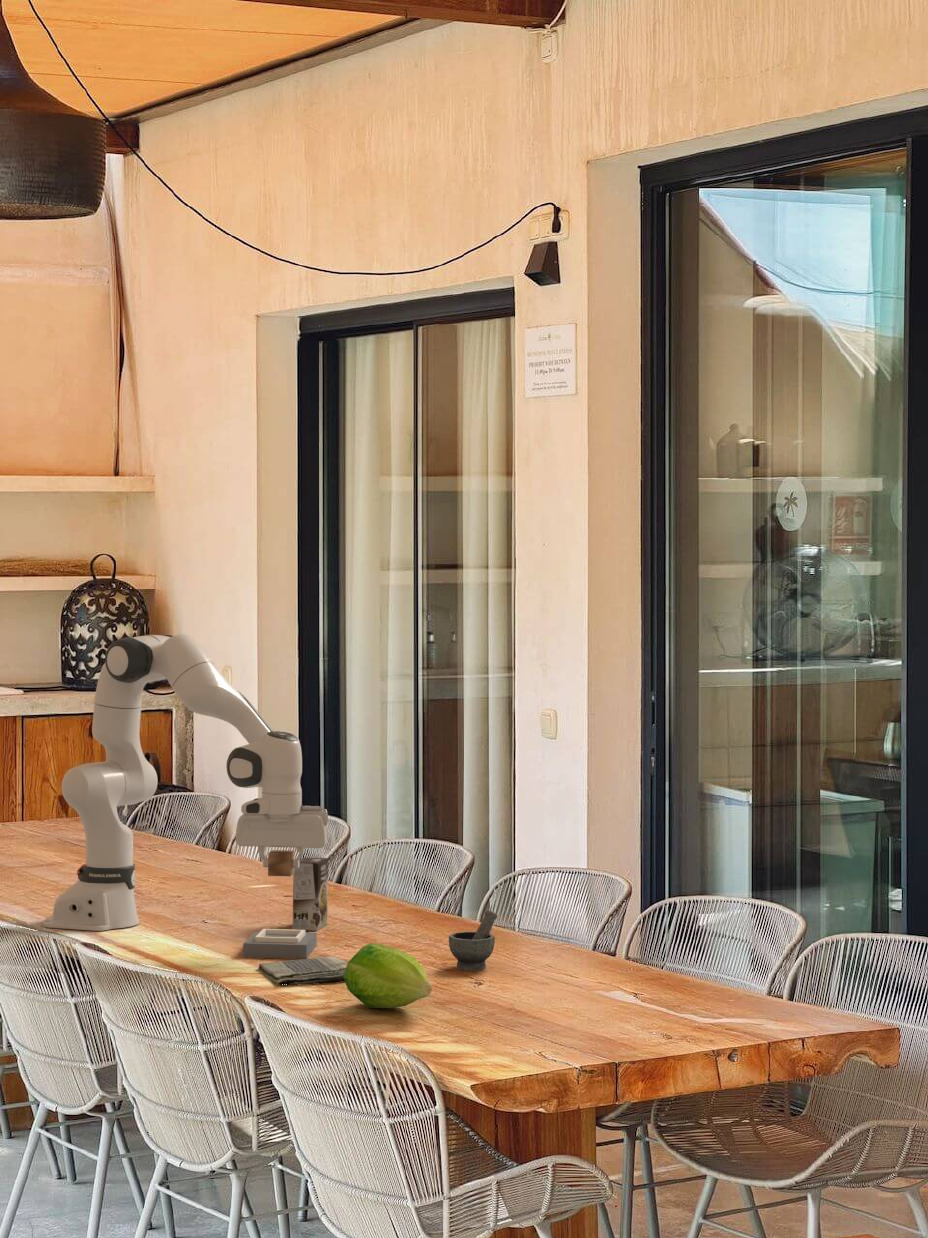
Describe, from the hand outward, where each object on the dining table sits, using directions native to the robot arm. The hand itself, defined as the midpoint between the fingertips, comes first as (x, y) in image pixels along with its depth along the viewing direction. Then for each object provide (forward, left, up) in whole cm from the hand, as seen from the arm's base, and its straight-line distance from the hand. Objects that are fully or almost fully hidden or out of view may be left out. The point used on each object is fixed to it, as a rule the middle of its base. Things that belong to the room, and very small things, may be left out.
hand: (281, 867), depth 401 cm
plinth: (0, 0, -19) cm, 19 cm away
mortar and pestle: (+44, -11, -19) cm, 49 cm away
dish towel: (+10, -23, -20) cm, 32 cm away
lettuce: (+31, -52, -19) cm, 63 cm away
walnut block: (0, 0, -2) cm, 2 cm away
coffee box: (+2, +29, -19) cm, 35 cm away
